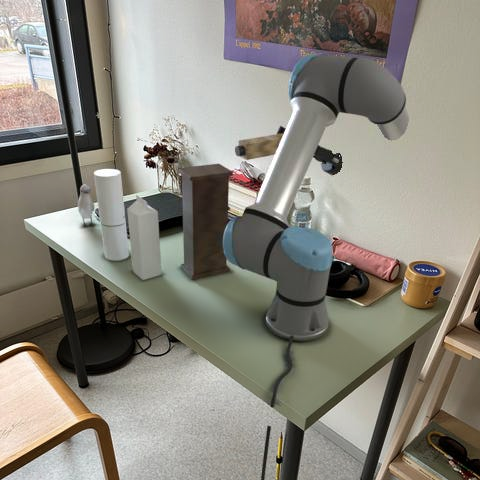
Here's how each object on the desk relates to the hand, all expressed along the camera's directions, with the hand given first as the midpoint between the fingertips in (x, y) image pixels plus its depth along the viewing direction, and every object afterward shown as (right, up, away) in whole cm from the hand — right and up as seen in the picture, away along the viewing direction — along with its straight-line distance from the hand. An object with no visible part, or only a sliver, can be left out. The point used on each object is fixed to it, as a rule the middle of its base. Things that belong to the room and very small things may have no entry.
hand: (283, 132), depth 127 cm
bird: (-63, -18, +34) cm, 74 cm away
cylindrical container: (-49, -31, +16) cm, 60 cm away
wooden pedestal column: (-22, -36, +11) cm, 43 cm away
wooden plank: (-2, -4, +2) cm, 5 cm away
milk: (-38, -37, +8) cm, 54 cm away
